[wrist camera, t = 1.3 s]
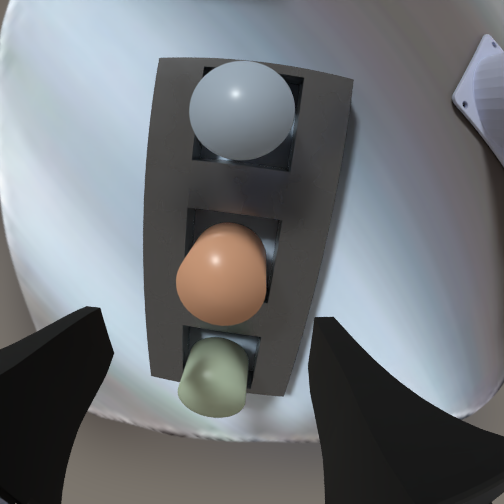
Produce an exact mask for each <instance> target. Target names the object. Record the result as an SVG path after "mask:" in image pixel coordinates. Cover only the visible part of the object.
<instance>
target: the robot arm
mask: <svg viewBox="0 0 504 504" xmlns="http://www.w3.org/2000/svg"><path fill="white" fill-rule="evenodd" d="M492 44H493V45H492ZM493 46H494V47H493ZM452 100H453V103H454V104H455V105H456V107H457V108H458V109H459V110H460V111H461V112H462V113H463V114H464V116H465V117H466V118H467V119H468V120H469V121H470V123H471V124H472V125H473V126H474V128H475V129H476V130H477V131H478V133H479V134H480V135H481V136H482V138H483V139H484V140H485V142H486V143H487V144H488V146H489V147H490V148H491V150H492V151H493V152H494V154H495V155H496V157H497V158H498V160H499V161H500V162H501V164H502V165H503V167H504V51H503V50H502V49H501V48H500V46H499V45H498V44H497V43H496V42H495V40H494V39H493V38H492V37H491V36H490V35H488V34H486V35H484V36H483V37H482V39H481V42H480V44H479V46H478V48H477V50H476V52H475V54H474V56H473V58H472V60H471V62H470V64H469V65H468V67H467V69H466V71H465V73H464V75H463V77H462V79H461V81H460V82H459V84H458V86H457V88H456V90H455V91H454V93H453V95H452ZM463 102H464V104H465V108H464V107H463V104H462V103H463ZM113 355H114V351H113V348H112V345H111V342H110V339H109V336H108V333H107V329H106V326H105V323H104V319H103V316H102V312H101V309H100V308H97V307H88V306H86V307H84V308H81V309H79V310H77V311H75V312H73V313H71V314H69V315H67V316H65V317H63V318H61V319H59V320H57V321H56V322H54V323H52V324H50V325H48V326H46V327H45V328H43V329H41V330H39V331H37V332H35V333H33V334H31V335H29V336H27V337H26V338H24V339H22V340H20V341H18V342H16V343H14V344H12V345H9V346H7V347H5V348H3V349H0V504H15V503H17V504H61V500H62V490H63V484H64V478H65V473H66V468H67V464H68V460H69V457H70V453H71V449H72V446H73V443H74V440H75V437H76V434H77V431H78V429H79V427H80V424H81V422H82V420H83V418H84V416H85V414H86V412H87V410H88V409H89V407H90V405H91V403H92V401H93V399H94V397H95V395H96V394H97V392H98V390H99V388H100V386H101V384H102V382H103V380H104V378H105V376H106V374H107V372H108V369H109V366H110V364H111V361H112V358H113ZM308 372H309V385H310V394H311V399H312V404H313V409H314V414H315V419H316V424H317V429H318V434H319V439H320V444H321V449H322V456H323V467H324V484H325V504H492V501H493V500H495V499H496V498H497V497H498V496H500V495H501V494H502V493H503V492H504V436H501V435H498V434H495V433H492V432H488V431H485V430H483V429H480V428H478V427H475V426H473V425H471V424H469V423H466V422H464V421H462V420H460V419H458V418H456V417H454V416H452V415H450V414H448V413H446V412H444V411H443V410H441V409H439V408H438V407H436V406H434V405H432V404H431V403H429V402H427V401H426V400H424V399H423V398H421V397H420V396H418V395H417V394H416V393H414V392H413V391H411V390H410V389H409V388H407V387H406V386H405V385H403V384H402V383H401V382H399V381H398V380H397V379H396V378H394V377H393V376H392V375H391V374H390V373H389V372H387V371H386V370H385V369H384V368H383V367H382V366H381V365H379V364H378V363H377V362H376V361H375V360H374V359H373V358H372V357H371V356H370V355H369V354H368V353H367V352H366V351H365V350H364V349H363V348H362V347H361V346H360V345H359V344H358V343H357V342H356V341H355V340H354V339H353V337H352V336H351V335H350V334H349V333H348V332H347V331H346V330H345V329H344V328H343V327H342V325H341V324H340V323H339V322H338V321H337V320H336V319H335V318H334V317H314V325H313V333H312V341H311V348H310V355H309V362H308Z"/></svg>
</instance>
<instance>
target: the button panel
mask: <svg viewBox="0 0 504 504" xmlns="http://www.w3.org/2000/svg"><path fill="white" fill-rule="evenodd" d="M234 61H246V60H235V59H220V58H159V63H158V69H157V75H156V81H155V88H154V95H153V102H152V109H151V118H150V126H149V136H148V147H147V159H146V173H145V191H144V220H143V266H144V296H145V314H146V328H147V340H148V351H149V360H150V369H151V376H154V377H159V378H163V379H168V380H172V381H177V382H180V381H181V378H182V375H183V372H184V369H185V366H186V363H187V360H188V357H189V326H192V327H197V328H203V329H209V330H216V331H222V332H229V333H236V334H243V335H250V336H258V337H259V338H258V343H257V348H256V354H255V359H254V364H253V369H252V371H251V370H248V375H247V387H246V393H253V394H262V395H272V396H284V394H285V391H286V387H287V384H288V381H289V378H290V375H291V372H292V368H293V365H294V362H295V358H296V355H297V352H298V348H299V345H300V341H301V338H302V334H303V331H304V327H305V324H306V320H307V316H308V313H309V309H310V305H311V301H312V297H313V294H314V290H315V286H316V282H317V278H318V274H319V269H320V265H321V261H322V257H323V253H324V248H325V244H326V239H327V235H328V230H329V225H330V221H331V216H332V211H333V206H334V201H335V196H336V191H337V186H338V180H339V175H340V169H341V163H342V158H343V152H344V146H345V139H346V133H347V126H348V119H349V112H350V105H351V97H352V89H353V81H354V80H353V79H349V78H345V77H341V76H337V75H333V74H328V73H324V72H319V71H314V70H309V69H304V68H298V67H292V66H286V65H280V64H272V63H265V62H256V61H251V62H256V63H260V64H263V65H265V66H267V67H269V68H271V69H273V70H274V71H275V72H277V73H278V74H279V75H280V76H281V77H282V78H283V79H284V80H285V82H286V83H292V84H298V85H300V88H299V95H298V102H297V109H296V116H295V123H294V130H293V136H292V143H291V150H290V156H289V163H288V169H284V168H278V167H271V166H264V165H257V164H250V163H242V162H234V161H225V160H216V159H206V158H200V154H201V145H202V143H201V142H200V141H199V139H198V138H197V136H196V135H195V133H194V131H193V128H192V126H191V122H190V115H189V107H190V101H191V97H192V94H193V92H194V90H195V88H196V86H197V85H198V83H199V82H200V81H201V79H202V78H203V77H204V76H205V75H206V74H208V73H209V72H210V71H212V70H213V69H215V68H217V67H219V66H221V65H223V64H226V63H230V62H234ZM195 208H196V209H204V210H212V211H220V212H228V213H235V214H242V215H250V216H257V217H264V218H271V219H278V220H279V225H278V231H277V237H276V243H275V249H274V255H273V260H272V266H271V272H270V277H269V283H268V287H266V295H265V299H264V302H263V304H262V306H261V308H260V309H259V310H258V312H257V313H256V314H255V315H254V316H252V317H251V318H250V319H248V320H246V321H244V322H242V323H239V324H235V325H229V326H220V325H214V324H210V323H207V322H204V321H202V320H200V319H198V318H197V317H195V316H194V315H193V314H191V313H190V312H189V311H188V310H187V309H186V308H185V306H184V305H183V303H182V302H181V300H180V298H179V295H178V292H177V288H176V277H177V272H178V270H179V267H180V265H181V264H182V262H183V260H184V259H185V257H186V256H187V254H188V253H189V251H190V250H191V248H192V246H193V231H194V218H195Z"/></svg>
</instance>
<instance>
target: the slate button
mask: <svg viewBox="0 0 504 504" xmlns="http://www.w3.org/2000/svg"><path fill="white" fill-rule="evenodd" d="M189 115H190V122H191V126H192V128H193V131H194V133H195V135H196V136H197V138H198V139H199V141H200V142H201V143H202V144H203V145H204V146H205V147H206V148H207V149H209V150H210V151H211V152H213V153H215V154H217V155H219V156H221V157H224V158H227V159H232V160H250V159H255V158H258V157H262V156H264V155H266V154H268V153H270V152H271V151H273V150H274V149H275V148H277V147H278V146H279V145H280V144H281V143H282V142H283V141H284V140H285V138H286V137H287V135H288V134H289V132H290V130H291V127H292V125H293V121H294V116H295V103H294V98H293V95H292V92H291V90H290V88H289V86H288V84H287V83H286V82H285V80H284V79H283V78H282V77H281V76H280V75H279V74H278V73H277V72H275V71H274V70H273V69H271V68H269V67H267V66H265V65H263V64H260V63H256V62H251V61H234V62H230V63H226V64H223V65H221V66H219V67H217V68H215V69H213V70H212V71H210V72H209V73H208V74H206V75H205V76H204V77H203V78H202V79H201V81H200V82H199V83H198V85H197V86H196V88H195V90H194V92H193V94H192V97H191V101H190V107H189Z"/></svg>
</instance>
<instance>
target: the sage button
mask: <svg viewBox="0 0 504 504" xmlns="http://www.w3.org/2000/svg"><path fill="white" fill-rule="evenodd" d="M248 363H249V360H248V356H247V354H246V352H245V350H244V349H243V348H242V347H241V346H240V345H238V344H237V343H235V342H233V341H231V340H229V339H225V338H220V337H209V338H205V339H202V340H200V341H198V342H197V343H195V344H194V345H193V347H192V348H191V351H190V354H189V357H188V360H187V363H186V366H185V369H184V372H183V375H182V378H181V381H180V384H179V387H178V396H179V398H180V400H181V402H182V403H183V404H184V405H185V406H186V407H187V408H189V409H190V410H192V411H193V412H195V413H198V414H200V415H203V416H207V417H214V418H223V417H229V416H232V415H235V414H237V413H238V412H240V411H241V410H242V409H243V407H244V405H245V399H246V387H247V375H248Z"/></svg>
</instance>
